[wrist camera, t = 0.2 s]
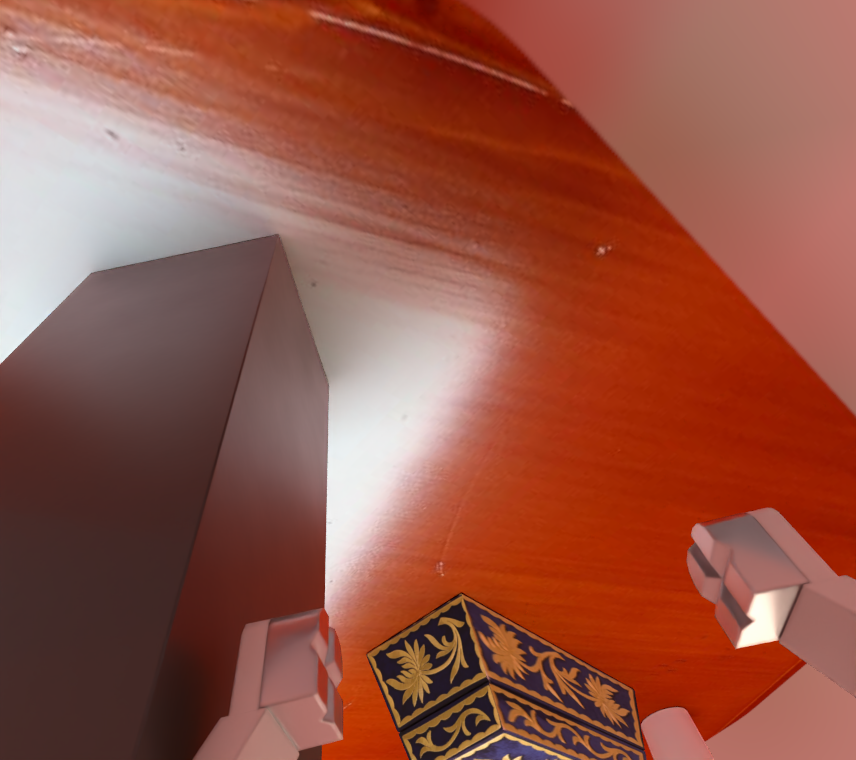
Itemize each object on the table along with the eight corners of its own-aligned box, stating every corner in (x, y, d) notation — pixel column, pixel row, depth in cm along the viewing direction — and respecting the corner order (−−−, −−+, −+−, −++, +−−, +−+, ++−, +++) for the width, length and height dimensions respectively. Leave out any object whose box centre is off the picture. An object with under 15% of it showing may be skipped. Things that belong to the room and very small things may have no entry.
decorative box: (556, 732, 61) (586, 830, 53) (366, 653, 46) (371, 774, 38) (634, 689, 57) (679, 787, 50) (458, 591, 43) (483, 709, 35)
